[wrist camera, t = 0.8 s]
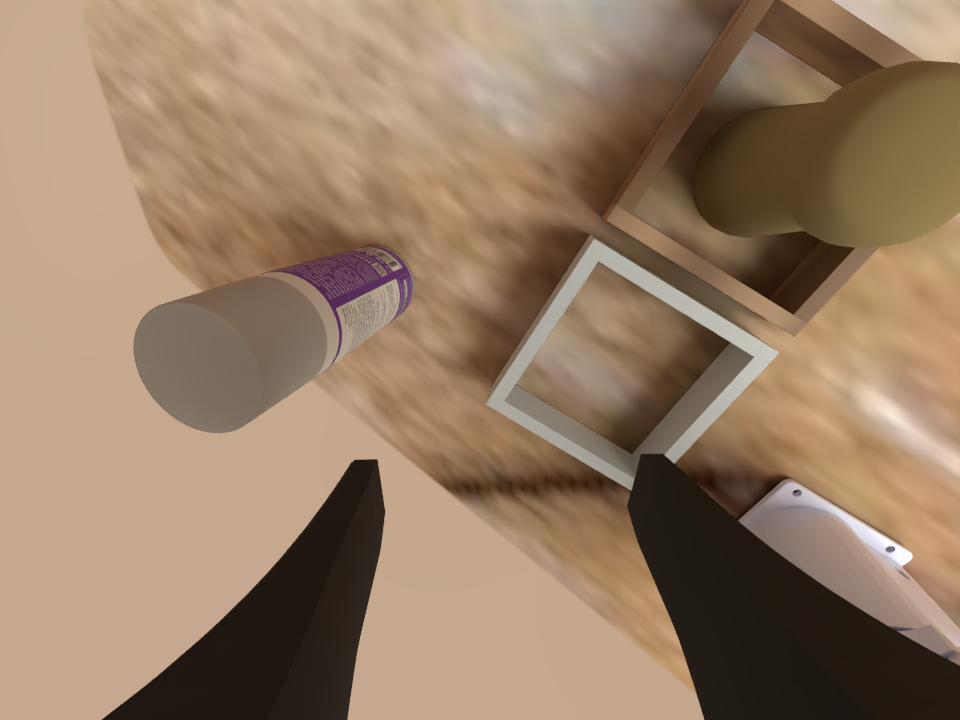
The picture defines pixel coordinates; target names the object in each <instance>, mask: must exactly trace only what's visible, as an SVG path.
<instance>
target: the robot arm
mask: <svg viewBox="0 0 960 720" xmlns="http://www.w3.org/2000/svg"><path fill="white" fill-rule="evenodd" d="M795 490H798V491H797V492H796V493H793V491H795ZM627 506H628V510H629V513H630V517H631V521H632V524H633V528H634V531H635V534H636V537H637V541H638V543H639V546H640V548H641V551H642V553H643V555H644V558H645V560H646V563H647V565H648V567H649V570H650V572H651V574H652V577H653V579H654V581H655V584H656V586H657V588H658V591H659V593H660V595H661V597H662V600H663V602H664V604H665V607H666V609H667V611H668V614H669V616H670V618H671V621H672V623H673V626H674V628H675V631H676V633H677V636H678V638H679V641H680V644H681V647H682V650H683V653H684V656H685V659H686V662H687V665H688V668H689V671H690V674H691V677H692V680H693V683H694V687H695V690H696V693H697V697H698V700H699V703H700V706H701V710H702V713H703V716H704V720H960V629H959V628H958V627H957V626H956V625H955V624H954V623H953V622H952V620H951V619H950V618H949V617H948V616H947V615H946V614H945V613H944V612H943V611H942V610H941V609H940V607H939V606H938V605H937V604H936V603H935V602H934V601H933V600H932V599H931V598H930V597H929V596H928V594H927V593H926V592H925V591H924V590H923V589H922V588H921V587H920V586H919V585H918V584H917V583H916V581H915V580H914V579H913V578H912V577H911V576H910V575H909V574H908V573H907V572H906V571H905V570H904V568H903V567H902V566H903V565H904V564H906V563H907V562H909V561H910V560H911V559H912V553H911V552H910V551H909V550H908V549H907V548H905V547H904V546H902V545H900V544H899V543H897V542H895V541H894V540H892V539H890V538H889V537H887V536H885V535H884V534H882V533H880V532H879V531H877V530H875V529H874V528H872V527H870V526H869V525H867V524H865V523H864V522H862V521H860V520H859V519H857V518H856V517H854V516H852V515H851V514H849V513H847V512H846V511H844V510H842V509H841V508H839V507H837V506H836V505H834V504H832V503H831V502H829V501H827V500H826V499H824V498H822V497H821V496H819V495H817V494H816V493H814V492H812V491H811V490H809V489H807V488H806V487H804V486H802V485H801V484H799V483H797V482H796V481H794V480H792V479H786V480H783V481H781V482H780V483H779V484H778V485H777V486H776V487H775V488H774V489H772V490H771V491H770V492H769V493H768V494H767V495H766V496H765V497H764V498H762V499H761V500H760V501H759V502H758V503H757V504H756V505H755V506H754V507H753V508H751V509H750V510H749V511H748V512H747V513H746V514H745V515H744V516H743V517H741V518H740V519H739V520H736V519H735V518H734V517H733V516H732V515H731V514H729V513H728V512H727V511H726V510H725V509H724V508H722V507H721V506H720V505H719V504H718V503H717V502H716V501H715V500H713V499H712V498H711V497H710V496H709V495H708V494H707V493H706V492H705V491H703V490H702V489H701V488H700V487H699V486H698V485H697V484H696V483H695V482H694V481H692V480H691V479H690V478H689V477H688V476H687V475H686V474H685V473H684V472H683V471H682V470H681V469H679V468H678V467H677V466H676V465H675V464H674V463H673V462H672V461H671V460H670V459H669V458H667V457H666V456H665V455H664V454H641V456H640V460H639V463H638V467H637V471H636V475H635V479H634V482H633V486H632V490H631V494H630V498H629V501H628V505H627ZM384 517H385V508H384V501H383V495H382V488H381V480H380V474H379V467H378V460H377V459H375V460H354V461H353V462H352V463H351V464H350V465H349V467H348V469H347V470H346V472H345V473H344V475H343V476H342V478H341V480H340V481H339V482H338V484H337V486H336V487H335V488H334V490H333V491H332V493H331V494H330V495H329V497H328V498H327V500H326V501H325V503H324V504H323V505H322V507H321V508H320V509H319V511H318V512H317V513H316V515H315V516H314V517H313V519H312V520H311V521H310V523H309V524H308V525H307V527H306V528H305V529H304V531H303V532H302V533H301V534H300V535H299V537H298V538H297V539H296V540H295V541H294V543H293V544H292V545H291V546H290V548H289V549H288V550H287V551H286V552H285V554H284V555H283V556H282V557H281V558H280V560H279V561H278V562H277V563H276V564H275V565H274V566H273V567H272V568H271V570H270V571H269V572H268V573H267V574H266V575H265V576H264V577H263V578H262V579H261V580H260V581H259V582H258V584H257V585H256V586H255V587H254V588H253V589H252V590H251V591H250V592H249V593H248V594H247V595H246V596H245V597H244V598H243V599H242V600H241V601H240V602H239V603H238V604H237V605H236V606H235V607H234V608H233V609H232V610H231V611H230V612H229V613H228V614H227V615H226V616H225V617H224V618H223V619H222V620H220V622H218V623H217V624H216V625H215V626H214V627H213V628H212V629H211V630H210V631H209V632H208V633H207V634H205V635H204V636H203V637H202V638H201V639H200V640H199V641H198V642H196V643H195V644H194V645H193V646H192V647H191V648H189V649H188V650H187V651H186V652H185V653H184V654H182V655H181V656H180V657H179V658H178V659H177V660H176V661H174V662H173V663H172V664H171V665H170V666H169V667H167V668H166V669H165V670H164V671H163V672H162V673H160V674H159V675H158V676H157V677H156V678H154V679H153V680H152V681H151V682H149V683H148V684H147V685H146V686H145V687H143V688H142V689H141V690H140V691H138V692H137V693H136V694H134V695H133V696H132V697H130V698H129V699H128V700H127V701H125V702H124V703H123V704H121V705H120V706H119V707H118V708H116V709H115V710H114V711H112V712H111V713H110V714H109V715H107V716H106V717H105V718H103V719H102V720H347V717H348V710H349V703H350V696H351V689H352V682H353V675H354V668H355V662H356V655H357V650H358V645H359V639H360V635H361V631H362V626H363V622H364V618H365V614H366V609H367V605H368V601H369V597H370V593H371V588H372V584H373V580H374V576H375V571H376V567H377V562H378V558H379V554H380V549H381V542H382V534H383V526H384ZM889 546H890V547H889ZM887 547H888V548H887Z"/></svg>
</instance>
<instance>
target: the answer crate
mask: <svg viewBox="0 0 960 720" xmlns="http://www.w3.org/2000/svg"><path fill="white" fill-rule="evenodd" d="M598 261H599V262H600V263H602V264H604V265H605V266H607V267H608V268H610V269H612V270H613V271H615V272H617V273H618V274H620V275H622V276H623V277H625V278H626V279H628V280H630V281H631V282H633V283H635V284H636V285H638V286H640V287H641V288H643V289H644V290H646V291H648V292H649V293H651V294H653V295H654V296H656V297H657V298H659V299H661V300H662V301H664V302H666V303H667V304H669V305H671V306H672V307H674V308H675V309H677V310H679V311H680V312H682V313H684V314H685V315H687V316H688V317H690V318H692V319H693V320H695V321H697V322H698V323H700V324H702V325H703V326H705V327H706V328H708V329H710V330H711V331H713V332H715V333H716V334H718V335H719V336H721V337H723V338H724V339H726V340H728V341H729V342H730V343H729V344H728V346H727V347H726V348H725V349H724V350H723V351H722V352H721V353H720V355H719V356H718V357H717V358H716V359H715V360H714V361H713V363H712V364H711V365H710V366H709V367H708V368H707V369H706V370H705V372H704V373H703V374H702V375H701V376H700V377H699V378H698V380H697V381H696V382H695V383H694V384H693V385H692V386H691V387H690V389H689V390H688V391H687V392H686V393H685V394H684V395H683V397H682V398H681V399H680V400H679V401H678V402H677V403H676V405H675V406H674V407H673V408H672V409H671V410H670V411H669V412H668V414H667V415H666V416H665V417H664V418H663V419H662V420H661V422H660V423H659V424H658V425H657V426H656V427H655V428H654V429H653V431H652V432H651V433H650V434H649V435H648V436H647V437H646V439H645V440H644V441H643V442H642V443H641V444H640V445H639V446H638V448H637V449H636V450H635V451H634V452H633V453H632V454H631V453H629V452H627V451H626V450H624V449H622V448H621V447H619V446H617V445H616V444H614V443H612V442H611V441H609V440H607V439H606V438H604V437H602V436H601V435H599V434H597V433H596V432H594V431H592V430H591V429H589V428H587V427H585V426H584V425H582V424H580V423H579V422H577V421H575V420H574V419H572V418H570V417H569V416H567V415H565V414H564V413H562V412H560V411H559V410H557V409H555V408H554V407H552V406H550V405H549V404H547V403H545V402H544V401H542V400H540V399H539V398H537V397H535V396H534V395H532V394H530V393H528V392H527V391H525V390H523V389H522V388H520V387H518V386H517V385H515V384H516V383H517V381H518V380H519V378H520V377H521V375H522V374H523V372H524V371H525V369H526V368H527V366H528V365H529V363H530V362H531V360H532V359H533V357H534V356H535V355H536V353H537V352H538V350H539V349H540V347H541V346H542V344H543V343H544V341H545V340H546V338H547V337H548V335H549V334H550V332H551V331H552V329H553V328H554V326H555V325H556V323H557V322H558V320H559V319H560V317H561V316H562V315H563V313H564V312H565V310H566V309H567V307H568V306H569V304H570V303H571V301H572V300H573V298H574V297H575V295H576V294H577V292H578V291H579V289H580V288H581V286H582V285H583V283H584V282H585V280H586V279H587V277H588V276H589V275H590V273H591V272H592V270H593V269H594V267H595V266H596V264H597V263H598ZM778 354H779V352H778V351H776V350H775V349H774V348H772V347H771V346H769V345H768V344H767V343H765V342H764V341H762V340H761V339H760V338H758V337H757V336H755V335H754V334H752V333H751V332H749V331H747V330H746V329H744V328H742V327H741V326H739V325H738V324H736V323H734V322H733V321H731V320H729V319H728V318H726V317H725V316H723V315H721V314H720V313H718V312H716V311H715V310H713V309H712V308H710V307H708V306H707V305H705V304H703V303H702V302H700V301H698V300H697V299H695V298H694V297H692V296H690V295H689V294H687V293H685V292H684V291H682V290H681V289H679V288H677V287H676V286H674V285H672V284H671V283H669V282H668V281H666V280H664V279H663V278H661V277H659V276H658V275H656V274H655V273H653V272H651V271H650V270H648V269H646V268H645V267H643V266H642V265H640V264H638V263H637V262H635V261H633V260H632V259H630V258H629V257H627V256H625V255H624V254H622V253H620V252H619V251H617V250H616V249H614V248H612V247H611V246H609V245H607V244H606V243H604V242H603V241H601V240H599V239H598V238H596V237H594V236H593V235H591V234H590V235H589V237H588V238H587V240H586V241H585V243H584V245H583V246H582V248H581V249H580V251H579V252H578V254H577V255H576V257H575V258H574V260H573V262H572V263H571V265H570V266H569V268H568V269H567V271H566V272H565V274H564V275H563V277H562V278H561V280H560V282H559V283H558V285H557V286H556V288H555V289H554V291H553V292H552V294H551V295H550V297H549V298H548V300H547V302H546V303H545V305H544V306H543V308H542V309H541V311H540V312H539V314H538V315H537V317H536V319H535V320H534V322H533V323H532V325H531V326H530V328H529V329H528V331H527V332H526V334H525V335H524V337H523V339H522V340H521V342H520V343H519V345H518V346H517V348H516V349H515V351H514V352H513V354H512V356H511V357H510V359H509V360H508V362H507V363H506V365H505V366H504V368H503V369H502V371H501V372H500V374H499V376H498V377H497V379H496V380H495V382H494V383H493V385H492V388H491V391H490V394H489V396H488V399H487V402H486V405H487V406H489V407H491V408H492V409H494V410H496V411H497V412H499V413H501V414H503V415H504V416H506V417H508V418H509V419H511V420H513V421H514V422H516V423H518V424H519V425H521V426H523V427H524V428H526V429H528V430H530V431H531V432H533V433H535V434H536V435H538V436H540V437H541V438H543V439H545V440H546V441H548V442H550V443H551V444H553V445H555V446H557V447H558V448H560V449H562V450H563V451H565V452H567V453H568V454H570V455H572V456H573V457H575V458H577V459H578V460H580V461H582V462H583V463H585V464H587V465H589V466H590V467H592V468H594V469H595V470H597V471H599V472H600V473H602V474H604V475H605V476H607V477H609V478H610V479H612V480H614V481H616V482H617V483H619V484H621V485H622V486H624V487H626V488H627V489H629V490H632V486H633V482H634V479H635V475H636V471H637V467H638V463H639V460H640V456H641V454H664V455H665V456H666V457H667V458H669V459H670V460H671V461H672V462H673V463H675V462H676V461H677V460H678V459H679V458H680V457H681V456H682V455H683V454H684V453H685V452H686V451H687V450H688V449H689V448H690V447H691V446H692V444H693V443H694V442H695V441H696V440H697V439H698V438H699V437H700V436H701V435H702V434H703V433H704V432H705V431H706V430H707V429H708V428H709V427H710V425H711V424H712V423H713V422H714V421H715V420H716V419H717V418H718V417H719V416H720V415H721V414H722V413H723V412H724V411H725V410H726V409H727V408H728V406H729V405H730V404H731V403H732V402H733V401H734V400H735V399H736V398H737V397H738V396H739V395H740V394H741V393H742V392H743V391H744V390H745V388H746V387H747V386H748V385H749V384H750V383H751V382H752V381H753V380H754V379H755V378H756V377H757V376H758V375H759V374H760V373H761V372H762V371H763V369H764V368H765V367H766V366H767V365H768V364H769V363H770V362H771V361H772V360H773V359H774V358H775V357H776V356H777V355H778Z"/></svg>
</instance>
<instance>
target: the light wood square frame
mask: <svg viewBox="0 0 960 720" xmlns="http://www.w3.org/2000/svg"><path fill="white" fill-rule="evenodd" d="M754 30H755V31H757V32H758V33H760V34H762V35H763V36H765V37H766V38H768V39H769V40H771V41H772V42H774V43H775V44H777V45H779V46H780V47H782V48H783V49H785V50H786V51H788V52H789V53H791V54H793V55H794V56H796V57H797V58H799V59H800V60H802V61H803V62H805V63H807V64H808V65H810V66H811V67H813V68H814V69H816V70H817V71H819V72H821V73H822V74H824V75H825V76H827V77H828V78H830V79H831V80H833V81H835V82H836V83H838V84H839V85H841V86H842V87H845V86H846V85H848V84H850V83H852V82H854V81H855V80H857V79H859V78H861V77H863V76H864V75H867V74H869V73H871V72H874V71H876V70H878V69H882V68H886V67H890V66H894V65H898V64H902V63H906V62H910V61H924V60H922V59H921V58H919V57H918V56H916V55H914V54H913V53H911V52H910V51H908V50H907V49H905V48H904V47H902V46H901V45H899V44H898V43H896V42H894V41H893V40H891V39H890V38H888V37H887V36H885V35H884V34H882V33H881V32H879V31H878V30H876V29H875V28H873V27H871V26H870V25H868V24H867V23H865V22H864V21H862V20H861V19H859V18H858V17H856V16H855V15H853V14H851V13H850V12H848V11H847V10H845V9H844V8H842V7H841V6H839V5H838V4H836V3H835V2H833V1H832V0H742V1H741V3H740V4H739V6H738V7H737V9H736V10H735V12H734V13H733V15H732V16H731V18H730V20H729V21H728V23H727V24H726V26H725V27H724V29H723V30H722V32H721V33H720V35H719V36H718V38H717V40H716V41H715V43H714V44H713V46H712V47H711V49H710V50H709V52H708V53H707V55H706V56H705V58H704V60H703V61H702V63H701V64H700V66H699V67H698V69H697V70H696V72H695V73H694V75H693V77H692V78H691V80H690V81H689V83H688V84H687V86H686V87H685V89H684V90H683V92H682V93H681V95H680V97H679V98H678V100H677V101H676V103H675V104H674V106H673V107H672V109H671V110H670V112H669V114H668V115H667V117H666V118H665V120H664V121H663V123H662V124H661V126H660V127H659V129H658V130H657V132H656V134H655V135H654V137H653V138H652V140H651V141H650V143H649V144H648V146H647V147H646V149H645V151H644V152H643V154H642V155H641V157H640V158H639V160H638V161H637V163H636V164H635V166H634V167H633V169H632V171H631V172H630V174H629V175H628V177H627V178H626V180H625V181H624V183H623V184H622V186H621V188H620V189H619V191H618V192H617V194H616V195H615V197H614V198H613V200H612V201H611V203H610V204H609V206H608V208H607V209H606V211H605V212H604V214H603V215H602V217H601V218H602V219H604V220H605V221H607V222H609V223H610V224H612V225H614V226H615V227H617V228H618V229H620V230H622V231H623V232H625V233H627V234H628V235H630V236H631V237H633V238H635V239H636V240H638V241H639V242H641V243H643V244H644V245H646V246H648V247H649V248H651V249H652V250H654V251H656V252H657V253H659V254H661V255H662V256H664V257H665V258H667V259H669V260H670V261H672V262H674V263H675V264H677V265H678V266H680V267H682V268H683V269H685V270H686V271H688V272H690V273H691V274H693V275H695V276H696V277H698V278H699V279H701V280H703V281H704V282H706V283H708V284H709V285H711V286H712V287H714V288H716V289H717V290H719V291H721V292H722V293H724V294H725V295H727V296H729V297H730V298H732V299H733V300H735V301H737V302H738V303H740V304H742V305H743V306H745V307H746V308H748V309H750V310H751V311H753V312H755V313H756V314H758V315H759V316H761V317H763V318H764V319H766V320H768V321H769V322H771V323H773V324H774V325H776V326H778V327H779V328H781V329H783V330H784V331H786V332H788V333H789V334H791V335H793V336H794V337H795V336H796V335H797V334H798V332H799V331H800V330H801V329H802V328H803V327H804V326H805V325H806V324H807V323H808V322H809V321H810V320H811V319H812V318H813V317H814V316H815V315H816V313H817V312H818V311H819V310H820V309H821V308H822V307H823V306H824V305H825V304H826V303H827V302H828V301H829V300H830V299H831V298H832V297H833V296H834V294H835V293H836V292H837V291H838V290H839V289H840V288H841V287H842V286H843V285H844V284H845V283H846V282H847V281H848V280H849V279H850V278H851V276H852V275H853V274H854V273H855V272H856V271H857V270H858V269H859V268H860V267H861V266H862V265H863V264H864V263H865V262H866V261H867V260H868V259H869V257H870V256H871V255H872V254H873V253H874V252H875V251H876V250H877V249H878V248H879V247H875V248H869V249H862V248H853V247H845V246H837V245H832V244H828V243H826V242H824V241H822V240H820V241H819V242H818V243H817V245H816V246H815V247H814V248H813V249H812V250H811V251H810V252H809V254H808V255H807V256H806V257H805V258H804V259H803V260H802V262H801V263H800V264H799V265H798V266H797V267H796V268H795V269H794V271H793V272H792V273H791V274H790V275H789V276H788V277H787V279H786V280H785V281H784V282H783V283H782V284H781V285H780V287H779V288H778V289H777V290H776V291H775V292H774V293H773V294H772V296H771V297H770V298H769V299H767V298H765V297H764V296H762V295H760V294H759V293H757V292H755V291H754V290H752V289H751V288H749V287H747V286H746V285H744V284H743V283H741V282H739V281H738V280H736V279H734V278H733V277H731V276H730V275H728V274H726V273H725V272H723V271H722V270H720V269H718V268H717V267H715V266H713V265H712V264H710V263H709V262H707V261H705V260H704V259H702V258H700V257H699V256H697V255H696V254H694V253H692V252H691V251H689V250H688V249H686V248H684V247H683V246H681V245H679V244H678V243H676V242H675V241H673V240H671V239H670V238H668V237H667V236H665V235H663V234H662V233H660V232H658V231H657V230H655V229H654V228H652V227H650V226H649V225H647V224H646V223H644V222H642V221H641V220H639V219H637V218H636V217H634V216H633V215H631V212H632V211H633V209H634V208H635V206H636V205H637V203H638V202H639V200H640V199H641V197H642V196H643V195H644V193H645V192H646V190H647V189H648V187H649V186H650V184H651V183H652V181H653V180H654V178H655V177H656V175H657V174H658V172H659V171H660V169H661V168H662V166H663V165H664V163H665V162H666V160H667V159H668V157H669V156H670V155H671V153H672V152H673V150H674V149H675V147H676V146H677V144H678V143H679V141H680V140H681V138H682V137H683V135H684V134H685V132H686V131H687V129H688V128H689V126H690V125H691V123H692V122H693V120H694V119H695V117H696V116H697V115H698V113H699V112H700V110H701V109H702V107H703V106H704V104H705V103H706V101H707V100H708V98H709V97H710V95H711V94H712V92H713V91H714V89H715V88H716V86H717V85H718V83H719V82H720V80H721V79H722V77H723V76H724V74H725V73H726V72H727V70H728V69H729V67H730V66H731V64H732V63H733V61H734V60H735V58H736V57H737V55H738V54H739V52H740V51H741V49H742V48H743V46H744V45H745V43H746V42H747V40H748V39H749V37H750V36H751V34H752V33H753V32H754Z"/></svg>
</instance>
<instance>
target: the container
mask: <svg viewBox="0 0 960 720" xmlns="http://www.w3.org/2000/svg"><path fill="white" fill-rule="evenodd" d="M414 291H415V282H414V277H413V273H412V271H411V269H410V267H409V265H408V263H407V262H406V261H405V260H404V258H403V257H402V256H401V255H399V254H398V253H397V252H395V251H393V250H392V249H389V248H387V247H383V246H368V247H364V248H360V249H356V250H352V251H348V252H344V253H340V254H336V255H332V256H328V257H325V258H321V259H317V260H313V261H309V262H305V263H301V264H297V265H293V266H289V267H286V268H282V269H278V270H274V271H270V272H266V273H262V274H260V275H257V276H254V277H250V278H247V279H244V280H240V281H237V282H234V283H230V284H227V285H224V286H221V287H217V288H214V289H211V290H207V291H204V292H201V293H198V294H194V295H191V296H188V297H185V298H181V299H178V300H175V301H171V302H168V303H165V304H162V305H159V306H157V307H155V308H153V309H152V310H150V311H149V312H148V313H147V314H146V315H145V316H144V317H143V319H142V320H141V321H140V323H139V325H138V327H137V330H136V333H135V338H134V357H135V363H136V366H137V369H138V372H139V375H140V377H141V379H142V381H143V383H144V385H145V387H146V389H147V390H148V391H149V393H150V394H151V396H152V397H153V398H154V400H155V401H156V402H157V403H158V404H159V405H160V406H161V407H162V408H163V409H164V410H165V411H166V412H167V413H168V414H170V415H171V416H173V417H174V418H175V419H177V420H178V421H180V422H182V423H184V424H185V425H187V426H190V427H192V428H194V429H197V430H201V431H205V432H211V433H225V432H231V431H234V430H237V429H239V428H241V427H243V426H244V425H246V424H247V423H249V422H250V421H252V420H253V419H255V418H256V417H258V416H259V415H261V414H262V413H264V412H265V411H266V410H268V409H269V408H271V407H272V406H274V405H275V404H277V403H278V402H280V401H281V400H283V399H284V398H286V397H287V396H289V395H290V394H291V393H293V392H294V391H296V390H297V389H299V388H300V387H302V386H303V385H305V384H306V383H308V382H309V381H311V380H312V379H314V378H315V377H317V376H318V375H320V374H321V373H323V372H324V371H325V370H327V369H328V368H330V367H331V366H332V365H334V364H335V363H336V362H338V361H339V360H340V359H342V358H343V357H344V356H346V355H347V354H348V353H350V352H351V351H352V350H354V349H355V348H356V347H358V346H359V345H360V344H362V343H363V342H364V341H366V340H367V339H368V338H370V337H371V336H372V335H374V334H375V333H377V332H378V331H379V330H381V329H382V328H383V327H385V326H386V325H387V324H389V323H390V322H391V321H393V320H394V319H395V318H397V317H398V316H399V315H401V314H402V313H403V312H404V311H405V310H406V309H407V308H408V307H409V305H410V304H411V302H412V299H413V296H414Z"/></svg>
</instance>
